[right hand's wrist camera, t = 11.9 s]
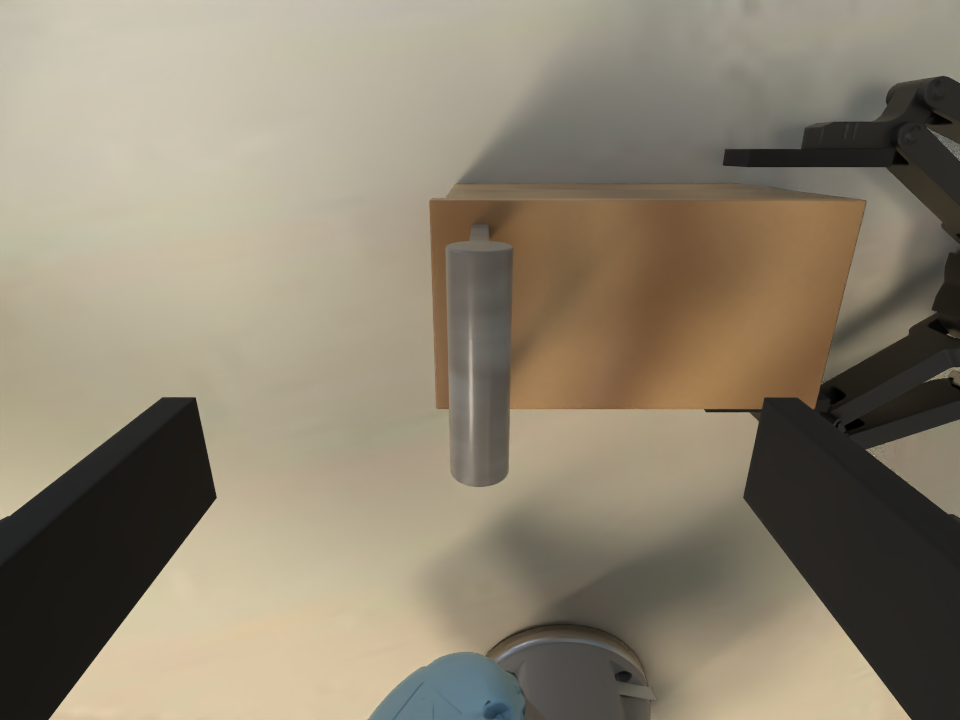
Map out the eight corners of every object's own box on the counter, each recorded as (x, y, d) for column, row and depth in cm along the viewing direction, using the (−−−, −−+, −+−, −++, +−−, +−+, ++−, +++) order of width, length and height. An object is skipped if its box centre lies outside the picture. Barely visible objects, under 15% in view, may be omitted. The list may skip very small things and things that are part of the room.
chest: (457, 330, 36) (449, 399, 26) (455, 183, 33) (444, 198, 23) (713, 330, 36) (802, 399, 26) (737, 183, 33) (850, 198, 23)
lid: (437, 399, 26) (419, 506, 18) (431, 198, 23) (405, 223, 15) (803, 400, 26) (941, 507, 18) (851, 198, 23) (1046, 223, 15)
